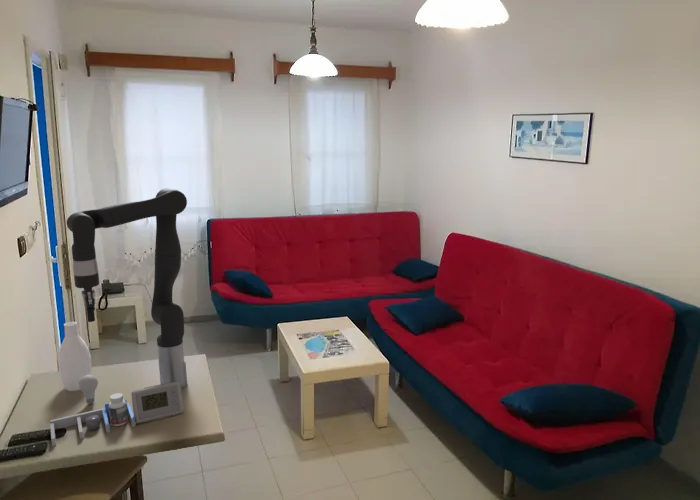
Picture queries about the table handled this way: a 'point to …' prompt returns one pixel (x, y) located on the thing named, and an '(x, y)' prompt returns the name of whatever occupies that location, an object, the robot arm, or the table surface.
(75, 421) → the pronged rack
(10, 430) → the table surface
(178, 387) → the digital clock
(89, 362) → the bottle
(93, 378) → the lightbulb
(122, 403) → the pill bottle
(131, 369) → the table surface
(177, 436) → the table surface
